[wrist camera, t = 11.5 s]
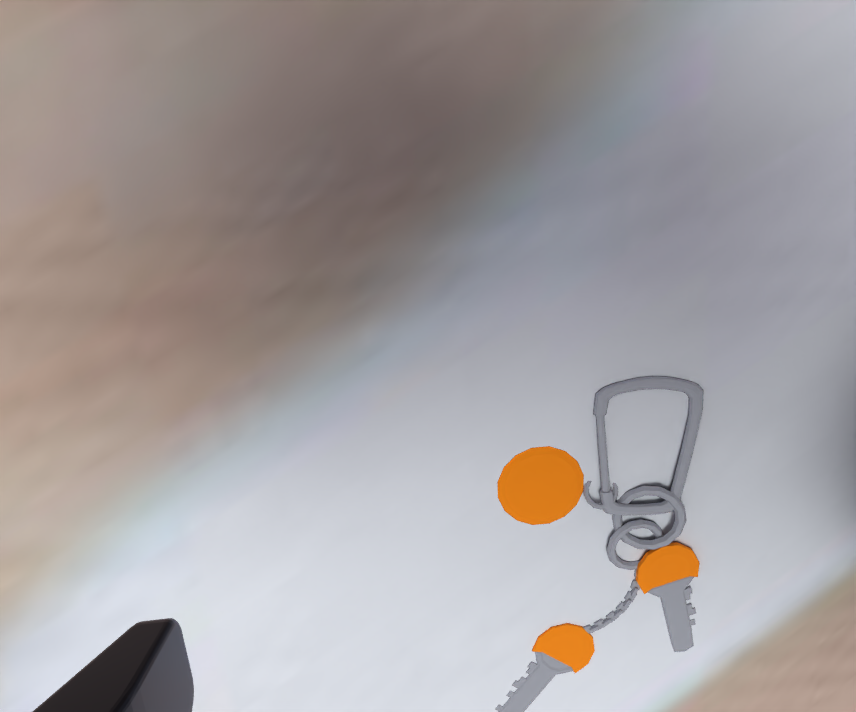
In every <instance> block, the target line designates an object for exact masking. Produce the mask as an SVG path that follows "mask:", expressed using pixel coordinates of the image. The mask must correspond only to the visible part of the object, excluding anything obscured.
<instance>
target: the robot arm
mask: <svg viewBox="0 0 856 712" xmlns="http://www.w3.org/2000/svg"><path fill="white" fill-rule="evenodd" d="M193 697H194V686H193V678H192V673H191V669H190V664H189V660H188V656H187V652H186V647H185V643H184V639H183V634H182V630H181V627H180V625H179V624H178V622H177V621H176V620H174V619H172V618H168V619H159V620H151V621H143V622H139V623H136V624H135V625H134V626H132V627H131V628H130V629H128V630H127V631H126V632H125V633H124V634H123V635H121V636H120V637H119V638H118V639H117V640H116V641H114V642H113V643H112V644H111V645H110V646H109V647H107V648H106V649H105V650H104V651H103V652H102V653H100V654H99V655H98V656H97V657H96V658H95V659H93V660H92V661H91V662H90V663H89V664H88V665H86V666H85V667H84V668H83V669H82V670H81V671H79V672H78V673H77V674H76V675H75V676H74V677H72V678H71V679H70V680H69V681H68V682H67V683H65V684H64V685H63V686H62V687H61V688H60V689H59V690H57V691H56V692H55V693H54V694H53V695H52V696H50V697H49V698H48V699H47V700H46V701H45V702H43V703H42V704H41V705H40V706H39V707H38V708H36V709H35V710H34V711H33V712H192V706H193Z"/></svg>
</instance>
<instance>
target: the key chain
mask: <svg viewBox="0 0 856 712" xmlns="http://www.w3.org/2000/svg"><path fill="white" fill-rule="evenodd" d="M642 389H669V390H676V391H682V392H684V393H686V394H687V395H688V397H689V398H690V399H689V417H688V421H687V426H686V430H685V435H684V439H683V444H682V449H681V453H680V456H679V460H678V464H677V468H676V472H675V476H674V480H673V483H672V487H671V490H670V491H668V490H666V489H664V488H662V487H658V486H641V487H638V488H635V489H633V490H630V491H627V492H626V493H625V494H624V495H623V496H622V497H621V498H620V499H619V500H618V501H617V502H615V500H616V498H617V496H618V487H617V485H616V483H613V490H612V489H610V484H609V472H608V460H607V448H606V436H605V424H604V415H606V412H607V406H608V400H609V399H610V398H612V397H613V396H615V395H617V394H620V393H625V392H629V391H635V390H642ZM702 410H703V389H702V388H701V387H700V386H699V385H698V384H695V383H693V382H691V381H687V380H683V379H678V378H672V377H663V376H651V377H641V378H635V379H630V380H626V381H622V382H618V383H614V384H612V385H609V386H606V387H604V388H602V389H601V390H600V391H599V392H597V393H596V397H595V405H594V413H593V415H596V421H597V434H598V447H599V460H600V473H601V485H602V489H600V491H599V492H600V497H601V503H602V504H599V503H595V502H594V501H593V500H592V499H591V498H590V495H589V486H590V483H591V481H588V482H587V483H586V484H585V485H584V496H585V499H586V501H587V503H589V504H590V505H591V506H592V507H593V508H598V509H603V511H604V512H606V513H609V514H613V515H612V520H613V527H614V531H615V532H614V533H613V534H612V536H611V537H610V540H609V544H608V547H607V553H608V556H609V560H610V561H611V562H612V563H613V564H614V565H616V566H617V567H619V568H623V569H628V570H633V569H635V573H634V576H635V577H636V580H633V581H632V584H631V588H632V590H631V591H628V593H627V594H626V596H625V597H624V598H625V599H626V600H625V601H624V602H622V601H621V603H620V604H619V605H618V606H617V607H616V609H617V610H616V611H615V612H613V611H612V612H610V613H609V614H608V615H606V619H604V620H603V619H600V620H598V621H596V622H594V624H595V625H593V626H590V625H587V626H584V627H582V626H578V625H573V624H569V623H566V624H562V625H557V626H553V627H550V628H549V629H548V630H546V631H545V632H544V633H543V634H541V635H540V636H539V637H538V638H537V641H536V643H535V645H534V647H533V649H532V651H533V652H535V654H536V661H537V664H536V663H534V662H531V663H530V664H529V665H528V667H529V669H528V670H527V671H526V673H528V674H529V676H528V677H527V678H524V677H521V679H520V680H519V681H515V682H514V683H513V684H512V686H514V687H516V688H518V689H517V690H516V691H515V692H512V691H510V692H509V693H508V694H507V696H508V697H510V698H509V700H508V701H507V702H506V703H505V704H504V706H501V705H498V706H497V708H496V710H498V711H499V712H524V711H525V710H526V709H527V708H528V706H529V705H530V704H531V703H532V702H533V701H534V699H535V698H536V697H537V696H538V695H539V694H540V692H541V691H542V690H543V689H544V688H545V687H546V685H547V684H548V683H549V682H550V681H551V680H552V678H553V677H554V676H555V675H556V674H562V673H566V672H571V671H574V672H575V673H576V672H578V671H579V670H580V669H582V668H583V667H584V666H586V665H587V664H588V663H589V661H590V659H591V657H592V655H593V653H594V644H593V637H592V636H591V635H590V633H593V632H594V631H596V630H599V629H601V628H603V627H605V626H607V625H608V624H609V623H611V622H613V621H614V620H615V619H617V618H618V617H619V615H621V614H622V613H623V612H624V611H625V610H626V609H627V608H628V607H629V605H630V603H631V602H633V600H634V598H635V597H636V595H637V591H638V590H639V589H640V588H641V589H642V591H643V592H644V594H645V593H647V592H648V593H651V594H653V595H655V596H658V597H661V601H662V606H663V610H664V615H665V619H666V623H667V627H668V631H669V636H670V640H671V644H672V647H673V649H674V652H681V651H686V650H688V649H689V648H691V647H692V646H693V638H692V630H691V625H694V624H695V620H694V619H692V620H690V619H689V615H693V614H696V610H695V607H694V608H692V604H691V603H689V604H686V600H689V599H690V593H692V589H691V587H690V586H688V584H689V583H690V582H691V580H692V579H693V578H694V577H698V570H699V561H698V559H697V558H696V556H695V554H694V552H693V551H692V549H691V548H689V547H687V546H685V545H682V544H680V543H678V542H675V543H671V542H672V541H673V540H675V539H676V538H677V537H678V536H679V535H680V534H681V532H682V530H683V527H684V525H685V522H686V514H685V507H684V505H683V504H682V502H681V501H680V497H681V494H682V491H683V487H684V483H685V480H686V476H687V472H688V469H689V465H690V461H691V457H692V454H693V449H694V445H695V441H696V436H697V432H698V428H699V423H700V419H701V414H702ZM583 479H584V475H583V473H582V471H581V468H580V466H579V464H578V462H577V461H576V460H575V459H574V458H573V457H572V456H570V455H569V454H568V453H567V452H566V451H563V450H560V449H556V448H553V447H550V446H548V447H536V448H530V449H528V450H526V451H524V452H522V453H520V454H518V455H516V456H515V457H514V458H513V459H512V460H511V461H510V462H509V463H508V464H507V465H506V466H505V467H504V468H503V471H502V473H501V475H500V478H499V480H498V499H499V500H500V502H501V504H502V506H503V508H504V510H505V511H506V512H507V513H508V514H509V515H511V516H512V517H513V518H514V519H516V520H517V521H521V522H524V523H528V524H532V525H536V524H547V523H551V522H553V521H555V520H558V519H560V518H562V517H564V516H566V515H567V514H568V513H569V512H570V511H571V510H572V509H573V508H574V507H575V506H576V505H577V503H578V501H579V499H580V496H581V494H582V492H583ZM644 495H652V496H658V497H660V498H663V499H665V501H663V502H660V503H650V504H629V503H630V502H631V501H632V500H633V499H635V498H638V497H641V496H644ZM673 510H674V513H675V522H674V524H673V527H672V529H671V530H670V531H669V532H668V533H667V534H666V535H664V536H663V533H662V529H661V528H660V527H658V526H657V525H656V524H655V523H654V522H650V521H646V520H642V519H640V520H634V521H629V522H627V523H625V524H624V525H623V521H622V515H651V514H660V513H667V512H671V511H673ZM637 528H647V529H649V530H650V531H652V532H653V533H654V535H655V539H653V540H641V539H638V538H636V537H634V536H632V535H630V534H629V533H628V532H629V531H631V530H632V529H637ZM620 539H621V540H622V541H623V542H625V543H627V544H629V545H631V546H633V547H635V548H638V549H651V550H650V551H648V552H646V553H645V555H644V556H643V558H642V559H641V560H640V561H634V562H627V561H622V560H621V559H620V558H619V557H618V556H617V554H616V550H615V548H616V544H617V542H618V541H619V540H620ZM687 586H688V587H687Z"/></svg>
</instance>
